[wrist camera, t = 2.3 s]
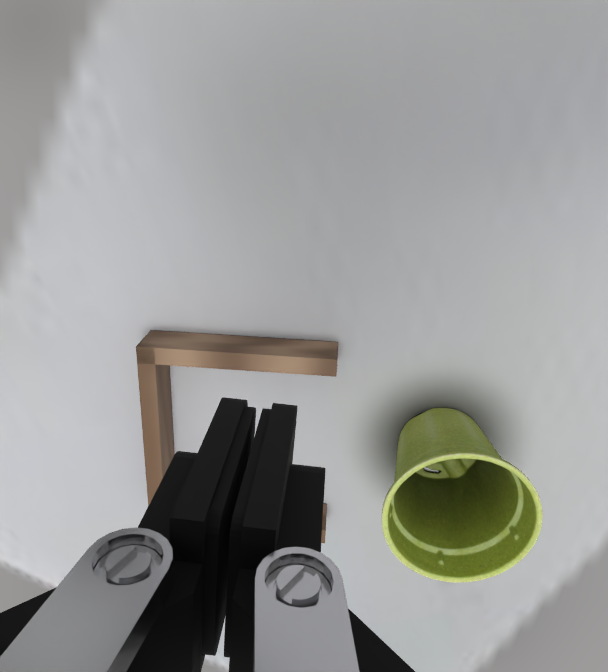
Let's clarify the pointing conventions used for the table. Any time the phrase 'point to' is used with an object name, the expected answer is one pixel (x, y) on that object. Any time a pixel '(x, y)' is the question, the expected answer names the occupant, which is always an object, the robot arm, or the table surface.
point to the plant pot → (457, 502)
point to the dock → (211, 353)
